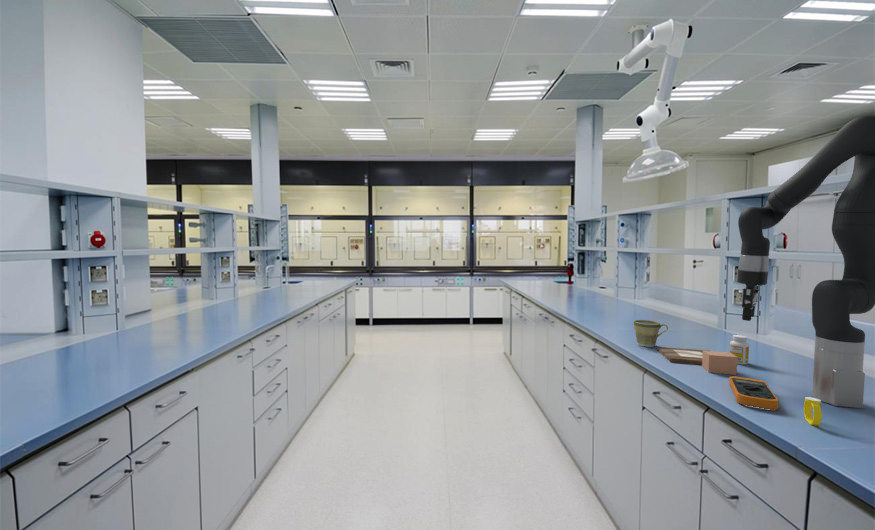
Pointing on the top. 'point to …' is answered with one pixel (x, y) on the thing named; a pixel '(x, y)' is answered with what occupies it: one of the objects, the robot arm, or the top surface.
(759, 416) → the top surface
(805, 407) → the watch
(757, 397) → the multimeter
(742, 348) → the supplement bottle
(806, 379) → the top surface
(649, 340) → the ceramic cup
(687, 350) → the walnut board
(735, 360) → the terracotta block
